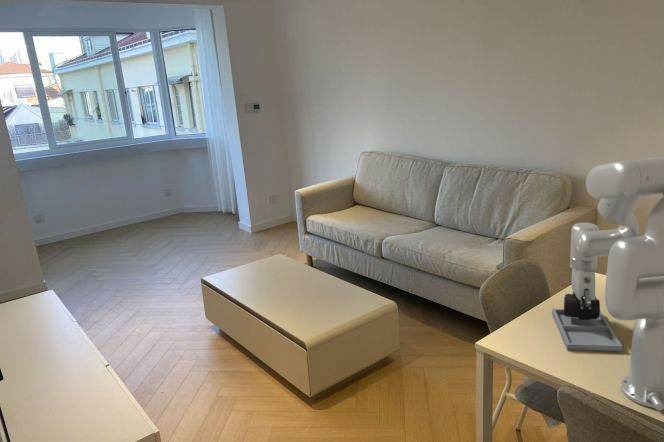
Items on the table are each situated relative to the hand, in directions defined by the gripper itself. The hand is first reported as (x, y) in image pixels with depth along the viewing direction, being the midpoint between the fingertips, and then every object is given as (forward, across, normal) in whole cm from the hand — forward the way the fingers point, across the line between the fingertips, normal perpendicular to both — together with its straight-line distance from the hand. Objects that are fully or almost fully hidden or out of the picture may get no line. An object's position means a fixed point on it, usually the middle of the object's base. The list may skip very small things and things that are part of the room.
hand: (580, 312), depth 159 cm
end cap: (+2, 0, 0) cm, 2 cm away
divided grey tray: (+4, -5, 0) cm, 6 cm away
